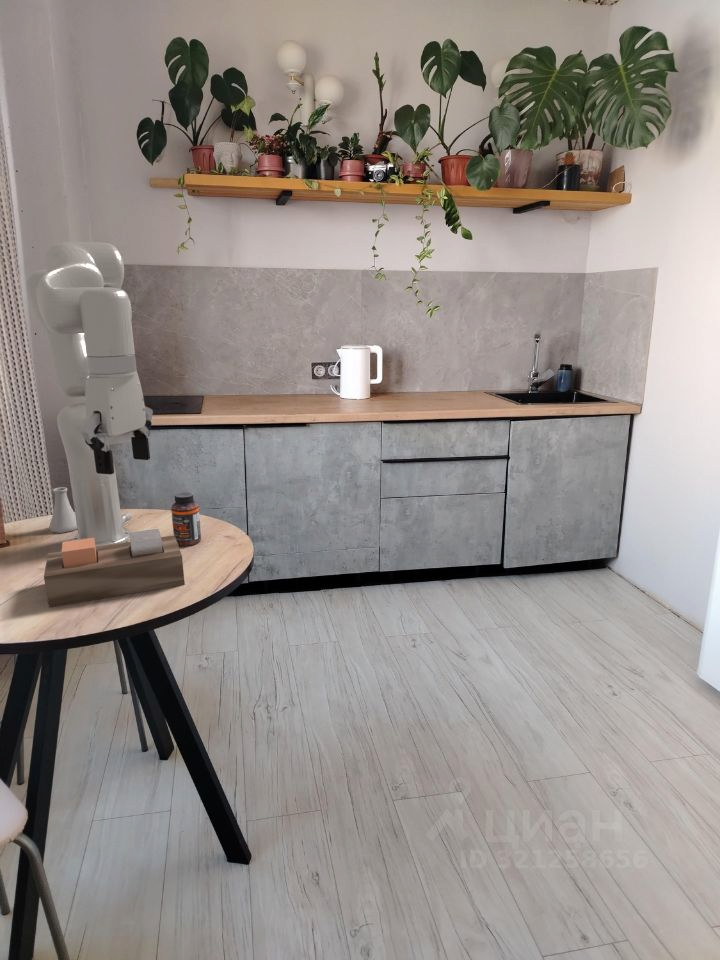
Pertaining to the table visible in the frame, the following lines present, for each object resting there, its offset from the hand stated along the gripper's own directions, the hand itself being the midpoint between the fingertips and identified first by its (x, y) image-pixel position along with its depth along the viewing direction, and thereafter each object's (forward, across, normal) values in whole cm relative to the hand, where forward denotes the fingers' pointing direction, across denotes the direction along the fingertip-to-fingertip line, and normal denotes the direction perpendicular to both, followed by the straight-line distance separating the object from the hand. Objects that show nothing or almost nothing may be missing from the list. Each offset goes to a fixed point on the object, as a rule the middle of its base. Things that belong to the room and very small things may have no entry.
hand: (124, 466), depth 115 cm
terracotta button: (+22, -2, -14) cm, 26 cm away
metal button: (+22, -9, -5) cm, 24 cm away
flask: (+26, -28, -42) cm, 57 cm away
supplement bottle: (+26, -28, -8) cm, 39 cm away
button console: (+26, -5, -9) cm, 28 cm away
